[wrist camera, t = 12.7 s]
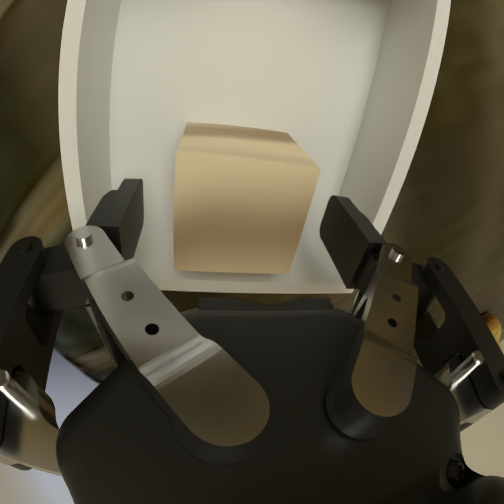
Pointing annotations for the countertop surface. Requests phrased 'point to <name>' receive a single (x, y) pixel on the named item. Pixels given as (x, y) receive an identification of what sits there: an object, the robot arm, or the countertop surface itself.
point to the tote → (245, 108)
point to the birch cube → (240, 199)
